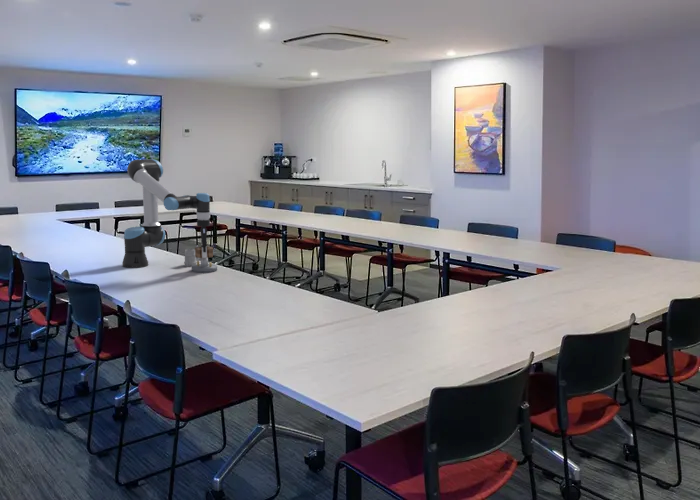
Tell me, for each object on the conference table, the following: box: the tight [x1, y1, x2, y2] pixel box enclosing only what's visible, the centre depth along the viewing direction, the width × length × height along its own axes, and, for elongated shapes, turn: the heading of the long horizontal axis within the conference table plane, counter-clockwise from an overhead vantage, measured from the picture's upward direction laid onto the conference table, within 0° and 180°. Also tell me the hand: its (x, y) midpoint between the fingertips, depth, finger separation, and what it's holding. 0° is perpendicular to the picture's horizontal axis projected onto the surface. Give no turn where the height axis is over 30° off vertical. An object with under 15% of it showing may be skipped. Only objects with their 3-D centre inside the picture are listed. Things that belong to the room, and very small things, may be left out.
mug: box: [183, 244, 201, 267], centre depth 392 cm, size 8×12×12 cm, turn 148°
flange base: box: [191, 258, 218, 274], centre depth 375 cm, size 15×15×8 cm
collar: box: [194, 246, 214, 259], centre depth 374 cm, size 11×11×5 cm
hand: (204, 255), depth 375 cm, fingers closed on collar, 11 cm apart
